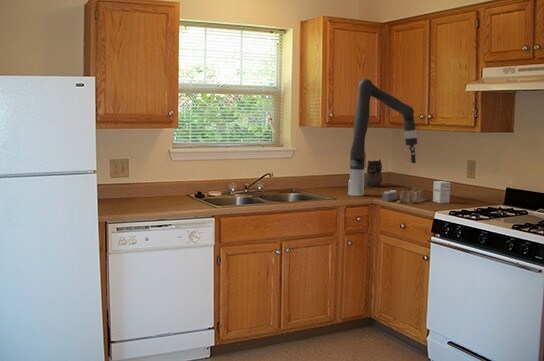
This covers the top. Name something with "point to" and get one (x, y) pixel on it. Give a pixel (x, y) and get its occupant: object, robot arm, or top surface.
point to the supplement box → (441, 192)
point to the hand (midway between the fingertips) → (413, 162)
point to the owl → (373, 174)
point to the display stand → (411, 196)
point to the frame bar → (389, 196)
